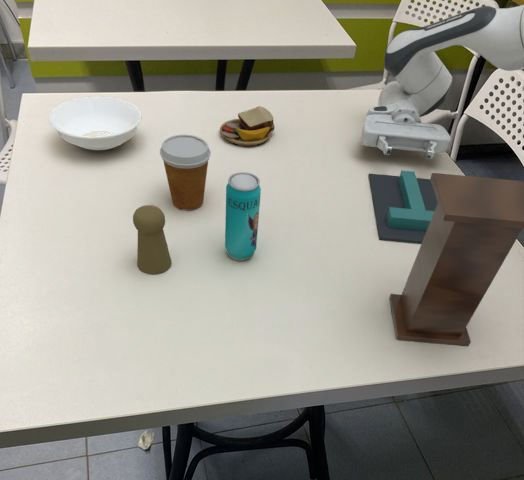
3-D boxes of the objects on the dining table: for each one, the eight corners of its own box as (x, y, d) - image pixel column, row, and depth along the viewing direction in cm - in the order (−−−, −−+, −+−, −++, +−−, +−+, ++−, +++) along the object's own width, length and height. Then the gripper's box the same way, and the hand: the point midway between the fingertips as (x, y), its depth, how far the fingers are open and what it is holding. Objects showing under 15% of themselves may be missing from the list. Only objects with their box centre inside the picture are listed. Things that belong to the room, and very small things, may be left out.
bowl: (58, 170, 105) (51, 141, 100) (52, 126, 117) (45, 98, 112) (152, 160, 110) (149, 133, 105) (136, 120, 122) (133, 93, 117)
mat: (437, 182, 113) (437, 179, 113) (458, 247, 98) (460, 244, 97) (368, 175, 113) (368, 173, 112) (379, 239, 97) (380, 237, 97)
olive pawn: (129, 264, 87) (120, 211, 79) (153, 248, 91) (147, 195, 82) (155, 279, 85) (148, 226, 77) (178, 261, 89) (174, 209, 80)
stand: (458, 303, 87) (523, 181, 69) (471, 346, 81) (547, 223, 62) (386, 297, 87) (432, 172, 68) (393, 339, 80) (445, 214, 62)
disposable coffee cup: (218, 209, 100) (218, 153, 91) (173, 219, 97) (169, 162, 88) (200, 185, 105) (199, 130, 96) (157, 193, 102) (152, 137, 93)
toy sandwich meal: (213, 125, 123) (213, 106, 119) (264, 121, 127) (265, 102, 123) (228, 150, 116) (229, 130, 112) (281, 144, 119) (284, 125, 116)
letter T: (430, 183, 112) (434, 173, 110) (446, 232, 100) (451, 222, 98) (378, 178, 111) (381, 168, 109) (388, 227, 99) (391, 217, 97)
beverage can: (249, 266, 89) (254, 193, 78) (219, 257, 90) (220, 184, 79) (260, 248, 93) (266, 176, 81) (231, 240, 94) (234, 167, 82)
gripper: (438, 141, 121) (450, 171, 112) (356, 132, 120) (361, 162, 111) (448, 115, 116) (460, 144, 107) (362, 106, 115) (367, 135, 107)
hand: (409, 153), depth 109 cm, fingers open, 8 cm apart
